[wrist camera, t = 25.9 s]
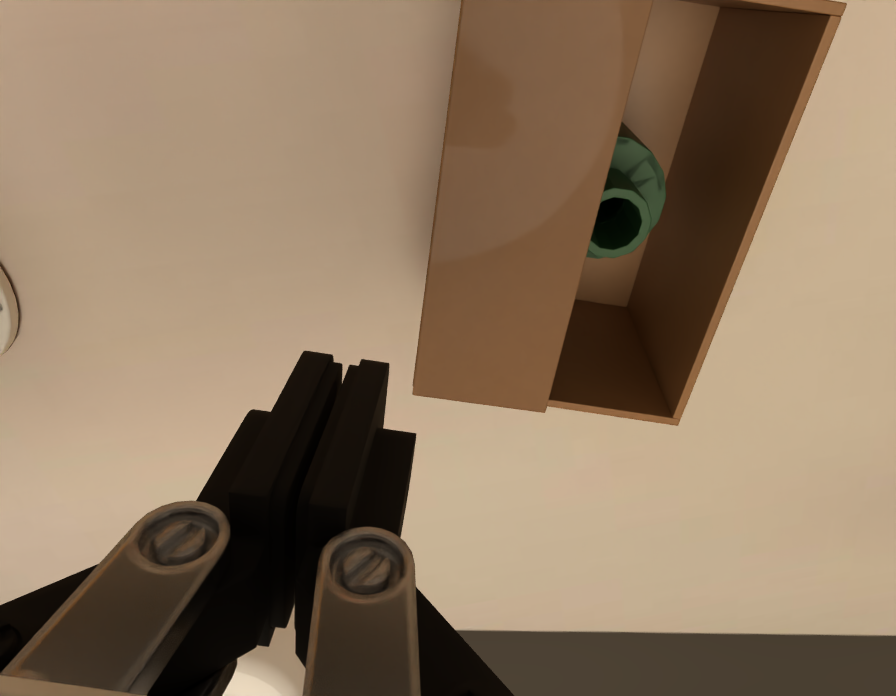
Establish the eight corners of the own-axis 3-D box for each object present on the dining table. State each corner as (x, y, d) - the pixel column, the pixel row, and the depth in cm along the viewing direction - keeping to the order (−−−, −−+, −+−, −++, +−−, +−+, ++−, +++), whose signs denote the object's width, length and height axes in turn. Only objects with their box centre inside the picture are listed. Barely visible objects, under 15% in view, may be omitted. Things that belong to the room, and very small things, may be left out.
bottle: (522, 203, 37) (531, 277, 27) (542, 100, 34) (561, 142, 25) (618, 218, 37) (661, 296, 28) (647, 116, 34) (705, 165, 25)
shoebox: (434, 281, 40) (412, 386, 30) (477, -40, 31) (468, -56, 21) (629, 310, 40) (678, 426, 30) (728, -1, 31) (848, 3, 21)
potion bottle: (239, 488, 51) (125, 710, 35) (340, 490, 50) (269, 716, 34) (259, 560, 55) (165, 787, 39) (353, 562, 54) (294, 794, 38)
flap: (413, 390, 29) (412, 395, 29) (470, -55, 20) (469, -56, 20) (544, 408, 29) (545, 413, 29) (657, -25, 21) (660, -26, 20)
